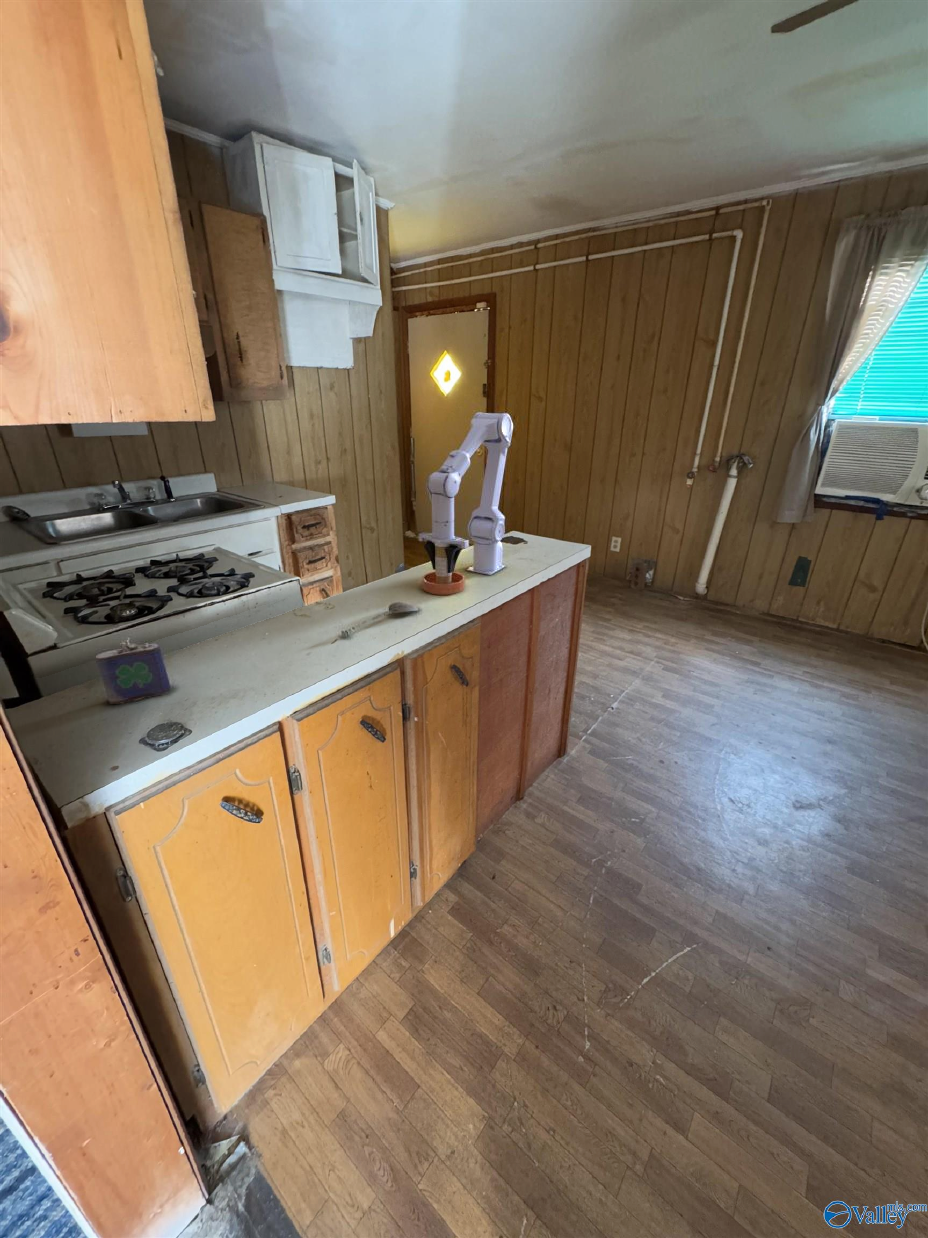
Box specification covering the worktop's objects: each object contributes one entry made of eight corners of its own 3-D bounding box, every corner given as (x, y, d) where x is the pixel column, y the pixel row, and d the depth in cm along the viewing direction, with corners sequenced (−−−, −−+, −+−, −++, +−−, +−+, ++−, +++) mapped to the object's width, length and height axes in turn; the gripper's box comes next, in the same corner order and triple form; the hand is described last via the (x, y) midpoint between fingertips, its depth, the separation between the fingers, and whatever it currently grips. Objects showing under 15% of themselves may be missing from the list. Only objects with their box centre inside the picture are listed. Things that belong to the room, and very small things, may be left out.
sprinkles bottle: (445, 581, 140) (444, 534, 135) (455, 586, 137) (455, 537, 131) (431, 585, 137) (431, 537, 132) (441, 589, 134) (441, 540, 129)
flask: (108, 706, 84) (90, 649, 80) (111, 697, 86) (93, 641, 82) (171, 693, 88) (157, 638, 83) (171, 685, 90) (157, 631, 86)
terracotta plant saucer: (437, 578, 145) (437, 568, 143) (472, 585, 139) (472, 575, 138) (413, 590, 136) (413, 579, 134) (450, 598, 130) (450, 587, 129)
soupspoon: (424, 614, 122) (405, 608, 126) (423, 600, 121) (404, 595, 125) (352, 641, 107) (333, 634, 110) (351, 626, 105) (332, 619, 109)
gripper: (411, 519, 130) (412, 569, 136) (458, 527, 123) (458, 579, 129) (426, 514, 136) (427, 563, 141) (473, 521, 129) (472, 571, 134)
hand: (443, 570), depth 135 cm, fingers closed on sprinkles bottle, 4 cm apart
